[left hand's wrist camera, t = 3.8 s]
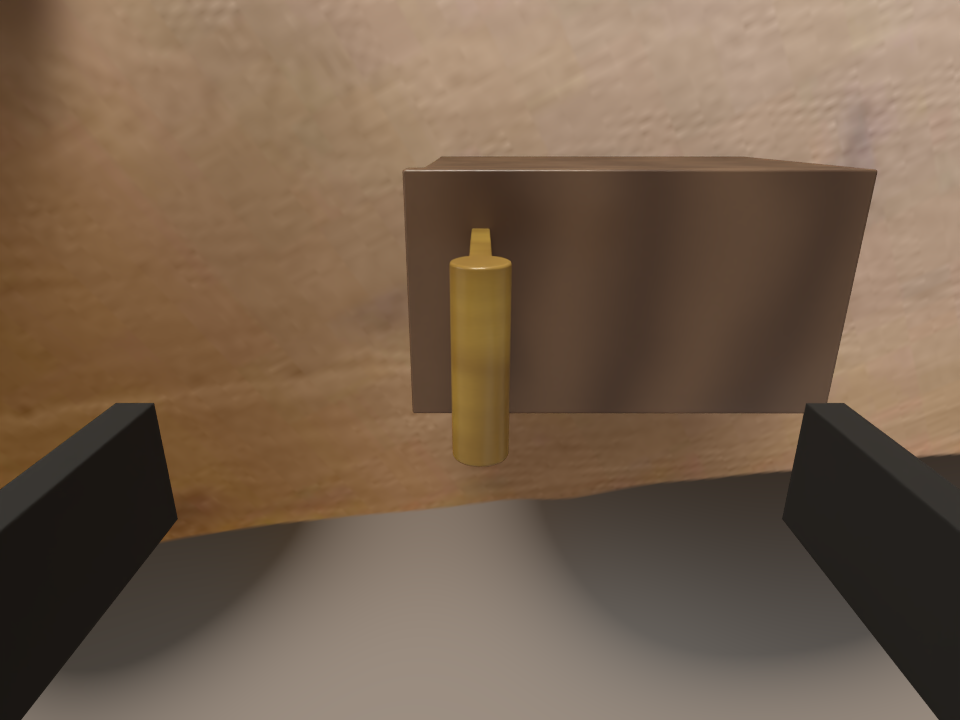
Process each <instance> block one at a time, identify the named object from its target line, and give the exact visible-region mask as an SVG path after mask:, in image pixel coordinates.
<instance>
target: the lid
mask: <svg viewBox="0 0 960 720" xmlns="http://www.w3.org/2000/svg"><path fill="white" fill-rule="evenodd" d="M876 175H877V170H874V169H864V168H407V169H405V170H403V191H404V215H405V238H406V262H407V286H408V310H409V333H410V357H411V381H412V405H413V412H414V413H452V444H453V455H454V457H455V459H456V460H458V461H459V462H461V463H463V464H465V465H469V466H474V467H487V466H492V465H496V464H498V463H501V462H502V461H504V460H505V459H506V457H507V455H508V447H509V413H804V410H805V405H806V403H827V400H828V396H829V391H830V387H831V382H832V377H833V373H834V368H835V364H836V359H837V355H838V350H839V345H840V341H841V336H842V332H843V327H844V322H845V318H846V313H847V309H848V304H849V299H850V295H851V290H852V286H853V281H854V276H855V272H856V267H857V263H858V258H859V253H860V249H861V244H862V240H863V235H864V230H865V226H866V221H867V217H868V212H869V208H870V203H871V198H872V194H873V189H874V185H875V180H876Z"/></svg>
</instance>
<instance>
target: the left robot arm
mask: <svg viewBox="0 0 960 720" xmlns="http://www.w3.org/2000/svg"><path fill="white" fill-rule="evenodd" d="M177 519H178V518H177V513H176V508H175V503H174V498H173V494H172V489H171V484H170V479H169V474H168V469H167V464H166V459H165V454H164V449H163V445H162V440H161V435H160V430H159V425H158V420H157V415H156V410H155V405H154V403H116V404H114V405H113V406H111V407H110V408H109V409H107V410H106V411H105V412H103V413H102V414H101V415H99V416H98V417H97V418H95V419H94V420H93V421H91V422H90V423H89V424H87V425H86V426H85V427H83V428H82V429H81V430H79V431H78V432H77V433H75V434H74V435H73V436H71V437H70V438H69V439H67V440H66V441H65V442H63V443H62V444H61V445H59V446H58V447H57V448H55V449H54V450H53V451H51V452H50V453H49V454H47V455H46V456H45V457H43V458H42V459H41V460H39V461H38V462H36V463H35V464H34V465H32V466H31V467H30V468H28V469H27V470H26V471H24V472H23V473H22V474H20V475H19V476H18V477H16V478H15V479H14V480H12V481H11V482H10V483H8V484H7V485H6V486H4V487H3V488H2V489H0V720H21V719H22V718H23V717H24V715H25V714H26V713H27V712H28V710H29V709H30V708H31V706H32V705H33V704H34V703H35V701H36V700H37V699H38V697H39V696H40V695H41V694H42V692H43V691H44V690H45V689H46V687H47V686H48V685H49V683H50V682H51V681H52V680H53V678H54V677H55V676H56V674H57V673H58V672H59V670H60V669H61V668H62V667H63V665H64V664H65V663H66V662H67V660H68V659H69V658H70V656H71V655H72V654H73V653H74V651H75V650H76V649H77V647H78V646H79V645H80V644H81V642H82V641H83V640H84V638H85V637H86V636H87V635H88V633H89V632H90V631H91V630H92V628H93V627H94V626H95V624H96V623H97V622H98V621H99V619H100V618H101V617H102V615H103V614H104V613H105V612H106V610H107V609H108V608H109V606H110V605H111V604H112V602H113V601H114V600H115V599H116V597H117V596H118V595H119V594H120V592H121V591H122V590H123V588H124V587H125V586H126V585H127V583H128V582H129V581H130V580H131V578H132V577H133V576H134V574H135V573H136V572H137V571H138V569H139V568H140V567H141V565H142V564H143V563H144V562H145V560H146V559H147V558H148V556H149V555H150V554H151V552H152V551H153V550H154V549H155V547H156V546H157V545H158V544H159V542H160V541H161V540H162V538H163V537H164V536H165V535H166V533H167V532H168V531H169V529H170V528H171V527H172V526H173V524H174V523H175V522H176V521H177ZM782 519H783V520H784V522H785V523H786V524H787V526H788V527H789V528H790V529H791V531H792V532H793V533H794V535H795V536H796V537H797V538H798V540H799V541H800V542H801V544H802V545H803V546H804V547H805V549H806V550H807V551H808V553H809V554H810V555H811V556H812V558H813V559H814V560H815V562H816V563H817V564H818V565H819V567H820V568H821V569H822V571H823V572H824V573H825V574H826V576H827V577H828V578H829V580H830V581H831V582H832V583H833V585H834V586H835V587H836V588H837V590H838V591H839V592H840V594H841V595H842V596H843V597H844V599H845V600H846V601H847V603H848V604H849V605H850V606H851V608H852V609H853V610H854V612H855V613H856V614H857V615H858V617H859V618H860V619H861V621H862V622H863V623H864V624H865V626H866V627H867V628H868V630H869V631H870V632H871V633H872V635H873V636H874V637H875V638H876V640H877V641H878V642H879V644H880V645H881V646H882V647H883V649H884V650H885V651H886V653H887V654H888V655H889V656H890V658H891V659H892V660H893V662H894V663H895V664H896V665H897V667H898V668H899V669H900V671H901V672H902V673H903V674H904V676H905V677H906V678H907V680H908V681H909V682H910V683H911V685H912V686H913V687H914V688H915V690H916V691H917V692H918V693H919V695H920V696H921V697H922V699H923V700H924V701H925V703H926V704H927V705H928V706H929V708H930V709H931V710H932V712H933V713H934V714H935V715H936V717H937V718H938V719H939V720H960V489H958V488H957V487H956V486H954V485H953V484H952V483H950V482H949V481H948V480H946V479H945V478H944V477H942V476H941V475H940V474H938V473H937V472H936V471H934V470H933V469H932V468H930V467H929V466H927V465H926V464H925V463H923V462H922V461H921V460H919V459H918V458H917V457H915V456H914V455H913V454H911V453H910V452H909V451H907V450H906V449H905V448H903V447H902V446H901V445H899V444H898V443H897V442H895V441H894V440H893V439H891V438H890V437H889V436H887V435H886V434H885V433H883V432H882V431H881V430H879V429H878V428H877V427H875V426H874V425H873V424H871V423H870V422H869V421H867V420H866V419H865V418H863V417H862V416H861V415H859V414H858V413H857V412H855V411H854V410H853V409H851V408H850V407H849V406H847V405H846V404H844V403H806V405H805V410H804V415H803V420H802V425H801V430H800V435H799V440H798V445H797V449H796V454H795V459H794V464H793V469H792V474H791V479H790V484H789V489H788V494H787V498H786V503H785V508H784V513H783V518H782Z"/></svg>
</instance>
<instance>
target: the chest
mask: <svg viewBox="0 0 960 720" xmlns="http://www.w3.org/2000/svg"><path fill="white" fill-rule="evenodd" d="M425 168H854V167H843V166H833V165H823V164H812V163H802V162H792V161H781V160H771V159H761V158H750V157H440V158H439V159H438V160H436V161H435V162H433V163H432V164H430V165H428V166H427V167H425Z"/></svg>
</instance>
